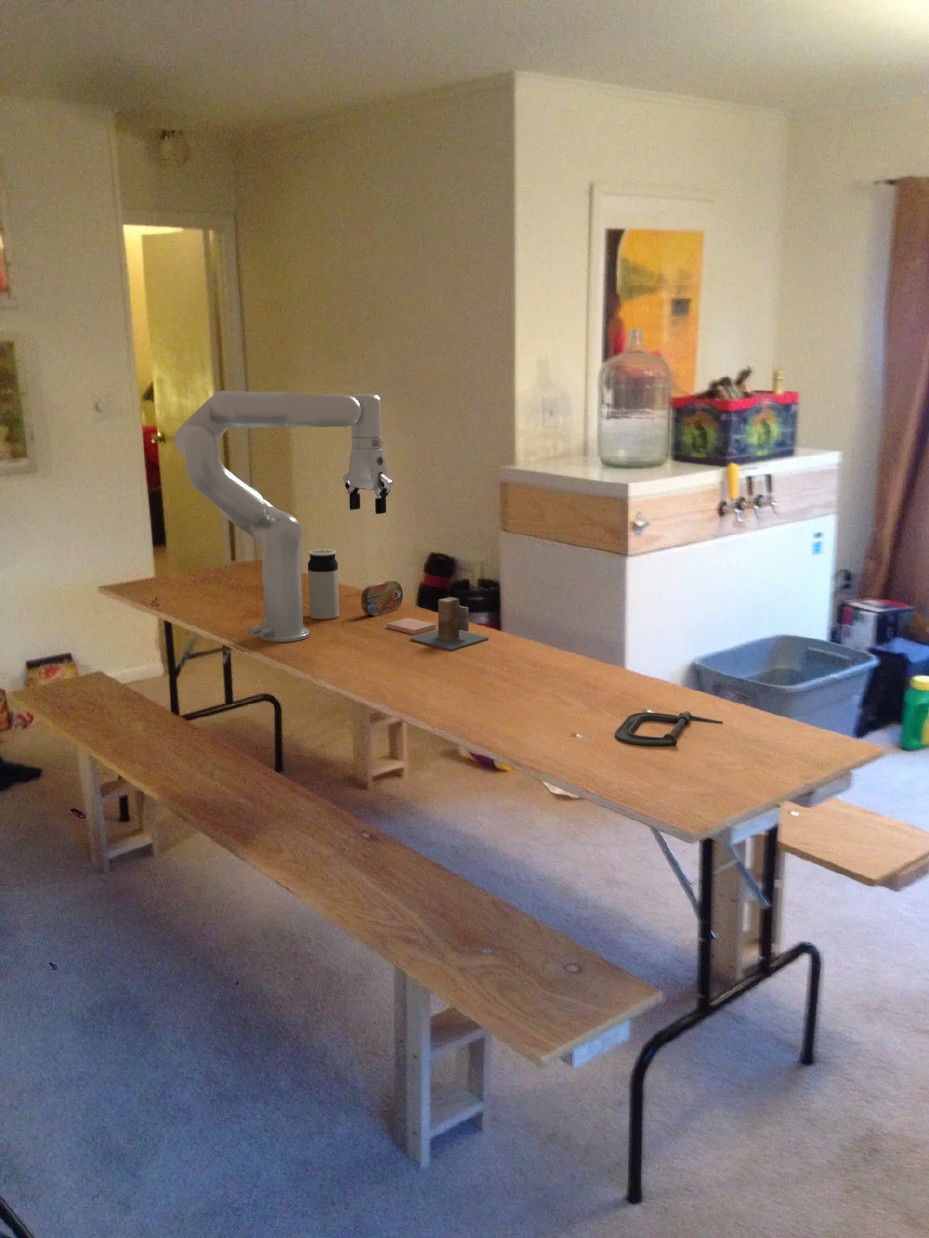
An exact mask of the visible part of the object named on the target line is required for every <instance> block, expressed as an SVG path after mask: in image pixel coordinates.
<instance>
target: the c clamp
mask: <svg viewBox="0 0 929 1238" xmlns="http://www.w3.org/2000/svg"><path fill="white" fill-rule="evenodd" d="M691 720H696V721H701V722H706V721H707V722H708V723H712V722H714V724H719V723H722V724H723V723H724V722H723V720H715V719H713V718H711V719H710V718H707V717H702V716H696V715H692V714H691V712H690V711H688V710H686V711H684V712H680V713H679V715H674V714H669V713H661V712H652V711H651V712H650V711H649V712H637V713H633V714H630V715H628V716H626V719H625V720H624V721H623V722H622V723H621V725H620V726H619V727H618V728H617V729H616V730H615V732H614V737H615V738H616V739H617V740H618V741H620V742H623V743H626V744H632V745H642V746H643V745H644V746H659V745H660V746H661V745H663V746H672V747H676V746H677V744H678V739H677V737H678V736H679V734H681V731H682V729H683V728H684V727H685V726H687V725H689V723H690V721H691ZM643 722H661V723H666V724H667V723H668V724H675V726H674V727H673V729H672V730H671V731H670V733H669V732H668V733H665V734H664V735H663V736H661V737H660V736H659V737H658V736H649V735H647V736H646V735H641V734H636V733H635V731H636V730H637V729H638V728H639V726H640V725H641V724H642V723H643Z"/></svg>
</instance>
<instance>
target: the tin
mask: <svg viewBox="0 0 929 1238" xmlns="http://www.w3.org/2000/svg"><path fill="white" fill-rule="evenodd" d="M403 594H404V592H403V588H402V586H401V584H400V583H399V582H398V581H396V580H386V581H382V582H378V583H376V584H375V583H374V584H371V585H369V586H366V587H365V588H364V589H363V592H362V593H361V596H360V602H361V608H362V611H363V613H364V614H366V615H368V616H374V617H378V616H381V615H384V614H387V613H391V612H394V611H397V610H398V609H399V608H400V607H401V604H402V602H403V598H404V595H403Z"/></svg>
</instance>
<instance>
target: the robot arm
mask: <svg viewBox="0 0 929 1238" xmlns="http://www.w3.org/2000/svg"><path fill="white" fill-rule="evenodd" d="M381 402H382V401H381V397H380V396H379V395H377V394H375V393H374V394H372V393H359V394H353V395H351V394H350V395H349V394H343V393H341V394H340V393H329V394H328V393H327V394H326V395H322V394H321V395H318V394H317V395H316V394H303V393H296V392H290V391H233V390H220V391H218V392H215V393H214V394H213V395H211V396H210V397H209V398H208V399H207V400H206V401H205V402H204V403H202V405H201V406H200V407H199V408H198V409H197V410H195V412H194V413H192V415H191V416H189V418H187V419H186V420H185V421H184V422H183V423H182V424H181V425H180V426H179V427H178V429H177V431H176V433H175V434H174V440H173V441H174V446H175V448H176V451H177V452H178V453H179V454H180V455H181V456H183V457H184V466H185V467H184V468H185V472H186V475H187V478H188V480H189V482H190V484H191V486H193V488H194V489H195V490H196V491H197V492H198V493H199V494H201V495H202V496H203V497H204V498H206V499H207V500H209V501H210V502H211V503H212V504H213V505H214V506H216V507H217V508H218V510H219V511H220V513H221V515H222V516H224V518H226V519H227V520H228V521H230V522H231V523H232V524H234V525H235V526H236V527H238V528H240V530H242V531H244V533H246V534H247V535H249V536H250V537H252V538H253V539H254V540H256V541H258V543H261V544H262V545H263V555H262V563H261V564H262V569H261V570H262V585H263V607H264V608H263V611H264V619H261V620H260V621H261V622H260V624H259V625H256V626H250V627H249V630H248V632H249V634H250V635H251V636H253V635H258V634H259V636H258V637H259V638H260V639H261V640H263V641H266V642H267V641H268V642H273V643H274V642H275V643H290V642H297V641H301V640H305V639H307V638H309V636H310V633H311V632H310V630H309V629H308V628H307V627H305V626H304V613H303V611H304V610H303V607H304V605H303V584H302V583H303V582H302V581H303V580H302V579H303V578H302V549H303V539H304V538H303V537H304V534H303V530H302V529H303V528H302V526H301V523H300V522H299V521H298V519H297V518H295V516H293V515H292V514H291V513H288V512H285V511H283V510H280V509H279V508H277V507H275V506H274V505H272V504H271V503H269V502H268V501H267V500H266V499H264V497H263V496H262V494H261V493H260V492H259V491H258V490H257V489H255V488H254V487H252V486H250V485H248V484H247V483H245V481H242V479H240V478H239V477H237V476H236V475H235V474H234V473H232V472H231V471H230V470H229V469H227V468H226V467H225V466H224V464H223V463H222V461H221V456H220V450H221V447H220V446H221V445H220V444H221V443H220V438H221V437H222V436H223V435H224V434H225V432H227V431H228V429H229V428H234V429H257V428H259V429H261V428H271V429H272V428H282V429H283V428H289V429H294V428H311V427H312V428H336V427H337V428H341V427H342V428H345V427H350V429H351V430H350V431H351V449H350V453H349V463H348V472H347V473H346V474H344V475H343V476H342V480H343V482H344V487H345V489H346V490H347V491H346V493H347V494H348V495H349V496H348V497H349V501H348V502H349V504H348V505H349V510H350V511H353V510H354V511H355V510H359V509H361V494H360V493H359V491H360V490H368V491H373V492H374V495H375V496H376V497H375V500H374V502H375V504H374V505H375V507H374V508H375V511H374V512H375V514H377V515H382V514H386V513H387V498H388V497H389V494H390V493H391V489H392V487H393V481H392V480H391V479H390V478H389V477H388V470H387V469H388V468H387V461H386V456H385V455H386V454H385V451H384V449H382V445H383V441H382V404H381Z"/></svg>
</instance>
